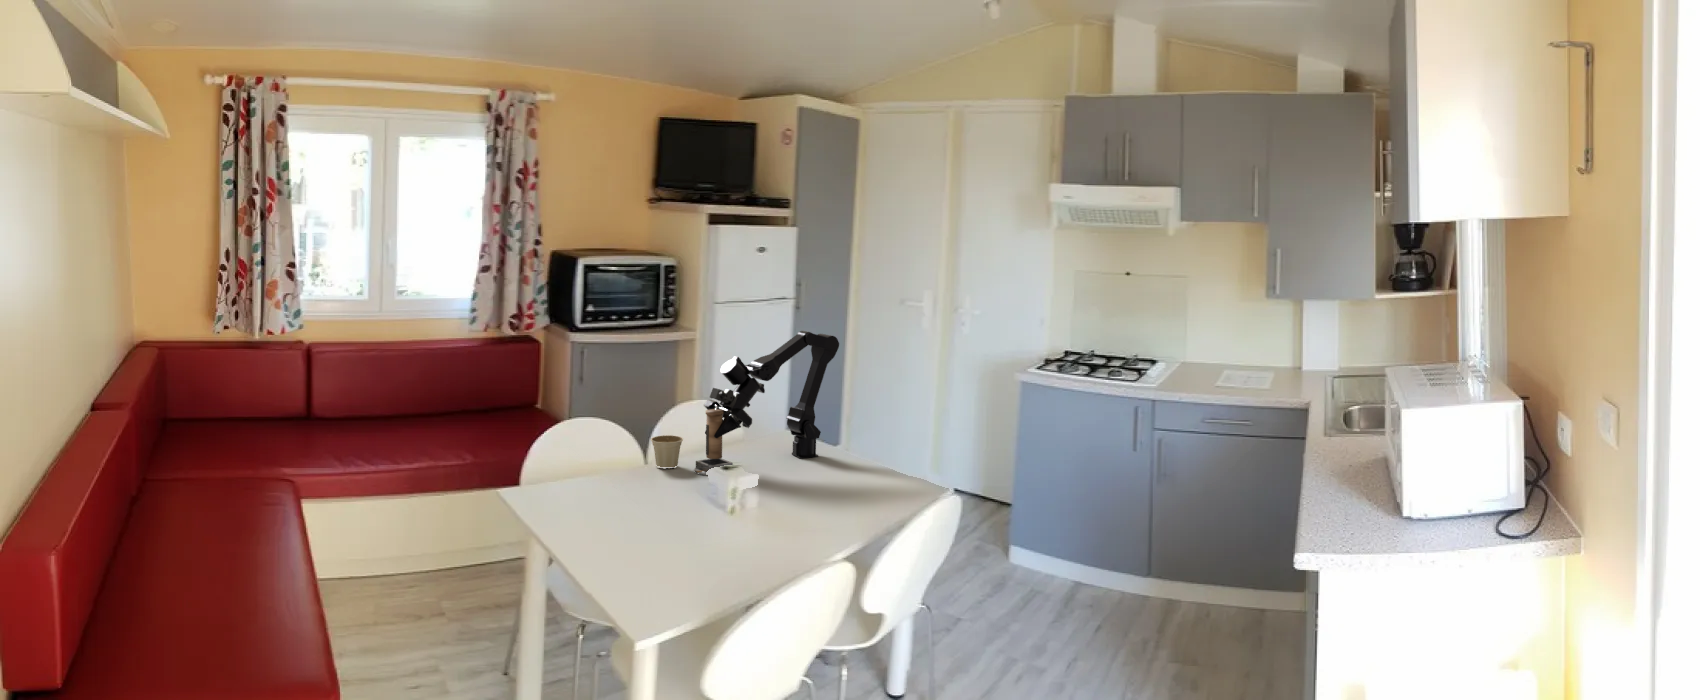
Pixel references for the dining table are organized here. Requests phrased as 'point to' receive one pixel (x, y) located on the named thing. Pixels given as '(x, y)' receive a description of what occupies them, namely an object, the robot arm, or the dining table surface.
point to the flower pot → (667, 450)
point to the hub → (709, 465)
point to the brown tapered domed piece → (711, 427)
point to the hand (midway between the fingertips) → (710, 435)
